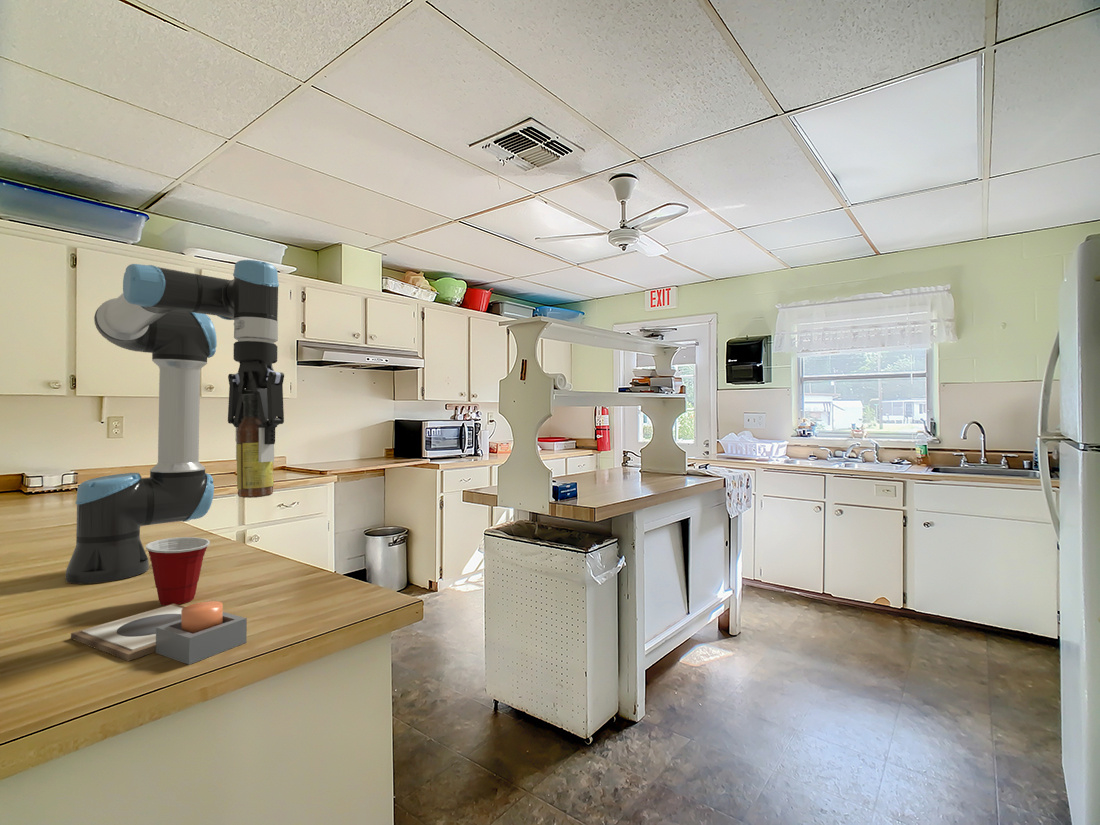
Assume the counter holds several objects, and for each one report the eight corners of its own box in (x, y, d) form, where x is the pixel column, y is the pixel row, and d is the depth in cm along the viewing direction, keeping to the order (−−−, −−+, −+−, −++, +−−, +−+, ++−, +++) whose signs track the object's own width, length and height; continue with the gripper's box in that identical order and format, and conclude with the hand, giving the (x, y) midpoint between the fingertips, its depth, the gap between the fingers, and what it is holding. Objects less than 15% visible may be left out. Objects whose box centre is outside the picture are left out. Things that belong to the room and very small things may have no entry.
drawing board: (70, 638, 90) (70, 631, 90) (173, 608, 104) (173, 602, 104) (128, 661, 82) (128, 652, 82) (231, 625, 96) (231, 617, 96)
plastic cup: (177, 612, 102) (177, 549, 103) (130, 608, 105) (130, 546, 105) (222, 594, 113) (223, 537, 113) (179, 590, 115) (179, 534, 115)
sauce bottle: (280, 495, 106) (282, 394, 106) (253, 499, 101) (255, 393, 101) (255, 492, 109) (256, 394, 109) (227, 497, 103) (229, 393, 103)
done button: (173, 631, 86) (173, 609, 86) (209, 620, 91) (209, 599, 91) (194, 638, 83) (194, 615, 83) (230, 625, 88) (230, 604, 88)
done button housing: (155, 652, 85) (155, 627, 85) (213, 632, 93) (213, 609, 93) (189, 664, 81) (189, 638, 81) (246, 642, 89) (246, 618, 89)
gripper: (206, 342, 106) (205, 460, 106) (270, 336, 97) (269, 464, 97) (243, 347, 112) (242, 457, 112) (306, 341, 104) (305, 461, 104)
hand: (254, 460), depth 105 cm, fingers closed on sauce bottle, 6 cm apart
